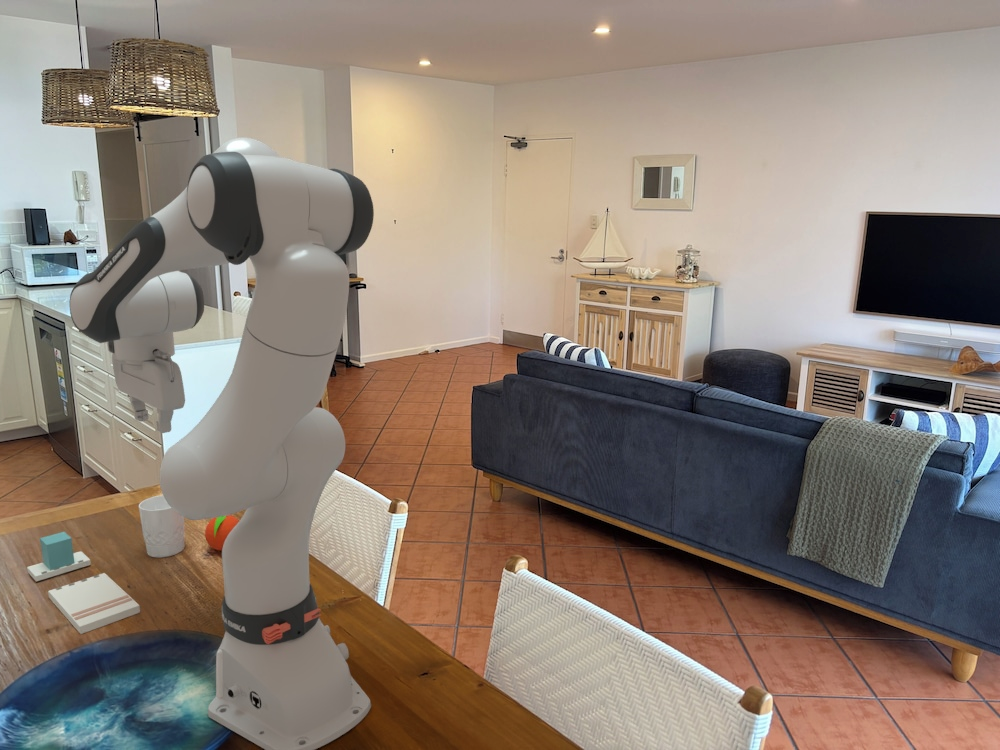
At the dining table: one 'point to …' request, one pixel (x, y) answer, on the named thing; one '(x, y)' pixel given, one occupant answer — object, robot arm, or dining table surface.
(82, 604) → the ticket
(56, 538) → the stub
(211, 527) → the clementine
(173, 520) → the white cup
